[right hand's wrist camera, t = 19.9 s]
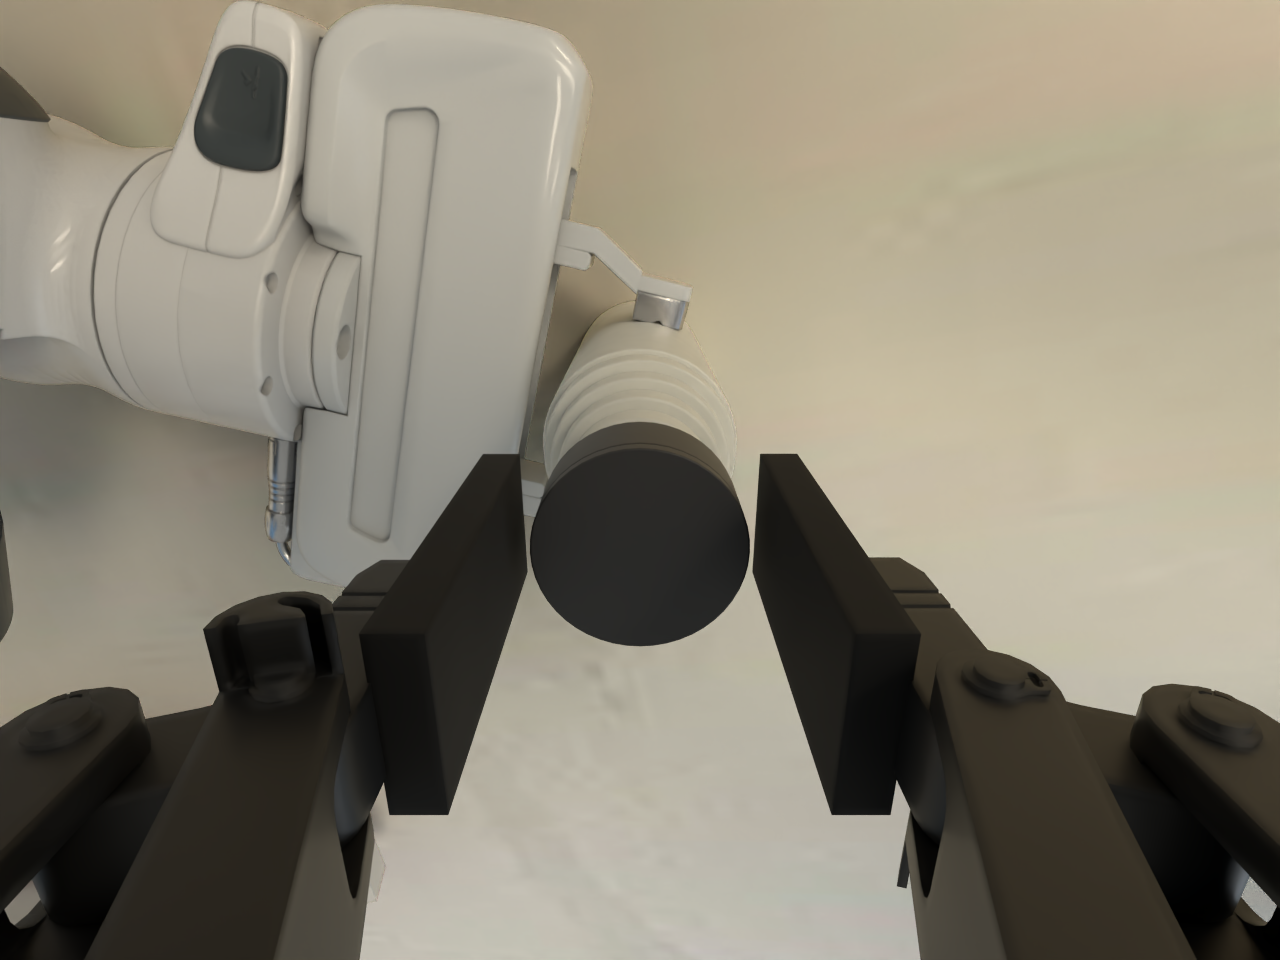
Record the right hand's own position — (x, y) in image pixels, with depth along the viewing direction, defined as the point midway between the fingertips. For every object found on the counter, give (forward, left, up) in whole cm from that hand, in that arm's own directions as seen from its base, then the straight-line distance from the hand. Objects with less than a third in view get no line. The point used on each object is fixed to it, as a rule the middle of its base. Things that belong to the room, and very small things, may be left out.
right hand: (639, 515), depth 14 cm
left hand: (0, +1, -11) cm, 11 cm away
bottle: (0, 0, -17) cm, 17 cm away
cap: (0, 0, +1) cm, 1 cm away
